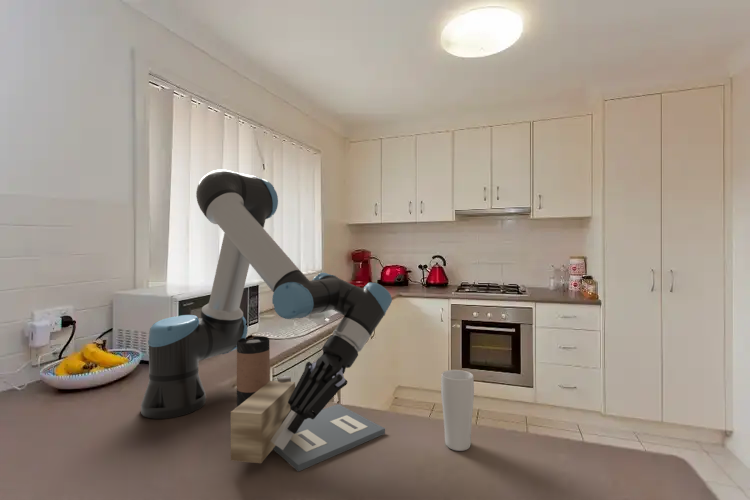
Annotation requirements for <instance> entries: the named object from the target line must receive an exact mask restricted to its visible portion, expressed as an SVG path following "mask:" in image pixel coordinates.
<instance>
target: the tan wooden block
mask: <svg viewBox="0 0 750 500" xmlns="http://www.w3.org/2000/svg"><path fill="white" fill-rule="evenodd" d="M295 387H296V381H292V377H291V376H289V375H283V376H278V378H277V380H270V381H269V382H268V383H267V384H266V385H264V386H263V387H262V388H260V389H259V390H258V391H257V392H255V393H254V394H253V395H252V396H250V397H249V398H248V399H247V400H245V401H244V402H243V403H241V404H240V405H239V406H238V407H235V408H234V409H233V410H231V411H230V461H232V462H242V463H251V464H252V463H254V464H262V463H264V461H265V459H266V458H267V457H268V456H269V454H270V453H271V452H272V451H274V450H273V448H274V447H275V446H276V445H275V444H273V443H272V442H271V441H270V440H271V439H272V437H273V436H274V435H275V433H276V432H277V430H278V429H279V427H280V426H281V424H282V422H283V420H284V419H285V417H286V416H287V414H288V413H289V411H290V410H291V409H290V407H291V406H290V404H288V401H289V399H290V397H291V395H292V393H293V391H294V389H295Z"/></svg>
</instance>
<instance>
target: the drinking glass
mask: <svg viewBox="0 0 750 500" xmlns="http://www.w3.org/2000/svg"><path fill="white" fill-rule="evenodd" d="M474 378H475V377H474V374H473V373H471V372H470V371H466V370H462V369H448V370H445V371H443V372H441V378H440V381H441V382H440V391H441V392H440V393H441V404H442V405H441V406H442V416H443V417H442V418H443V427H444V428H443V430H444V443H445V446H446V447H447V448H448V449H450V450H452V451H457V452H464V451H467V450H468V449H470V448H471V444H472V442H471V440H472V439H471V438H472V437H471V436H472V424H473V423H472V422H473V411H474V398H475V385H474V384H475V383H474V381H475V380H474Z"/></svg>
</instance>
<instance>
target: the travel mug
mask: <svg viewBox="0 0 750 500" xmlns="http://www.w3.org/2000/svg"><path fill="white" fill-rule="evenodd" d="M270 360H271V359H270V338H269V337H267V336H263V335H261V336H260V335H256V336H254V337H252V338H249V339H247V338H246V339H245V338H241V339H239V340H237V349H236V405H237V407H238V406H239V405H240V404H241V403H243V402H244V401H245V400H247V399H248V398H249V397H250V396H252V395H253V394H254V393H255V392H257V391H258V390H259V389H260V388H262V387H263V386H264V385H266V384H267V383H268V382H269V381H271V366H270V364H271V363H270Z"/></svg>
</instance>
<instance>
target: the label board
mask: <svg viewBox="0 0 750 500" xmlns="http://www.w3.org/2000/svg"><path fill="white" fill-rule="evenodd" d="M385 434H386V428H385V427H383V426H382V425H380V424H377V423H375V422H373V421H372V420H370V419H368V418H366V417H364V416H362V415H360V414H358V413H356V412H355V411H352V410H351V409H349V408H348V407H345V406H342V405H341V404H339V403H337V404H335V405H331V406H328V407H326V408H325V407H324V408H323V409H322V410H321V411H320V413H319V414H318V415H317V416H316V417H315V418H314V419H311V418H307V419H305V420H304V421H303V423H302V424H301V426H300V427H299V429H298V430H297V432H296V433H295V434H293V436H292V437H291V439H290V440H289V442H288V443H287V445H286V446H285V448H284V450H282V449H280V448H279V447H278V446H275V447H274V448H273V450H272V451H274V452H275V453H277V455H279V457H281V458H282V459H283V460H285V462H287V463H288V464H289V465H290V466H291V467H292V468H294V469H295V471H297V472H300V471H303V470H305V469H308V468H310V467H312V466H314V465H316V464H319V463H321V462H323V461H326V460H328V459H331V458H332V457H335V456H337V455H339V454H342V453H344V452H346V451H348V450H351V449H354V448H355V447H358V446H360V445H362V444H364V443H366V442H368V441H372V440H374V439H376V438H378V437H381V436H383V435H385Z"/></svg>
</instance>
